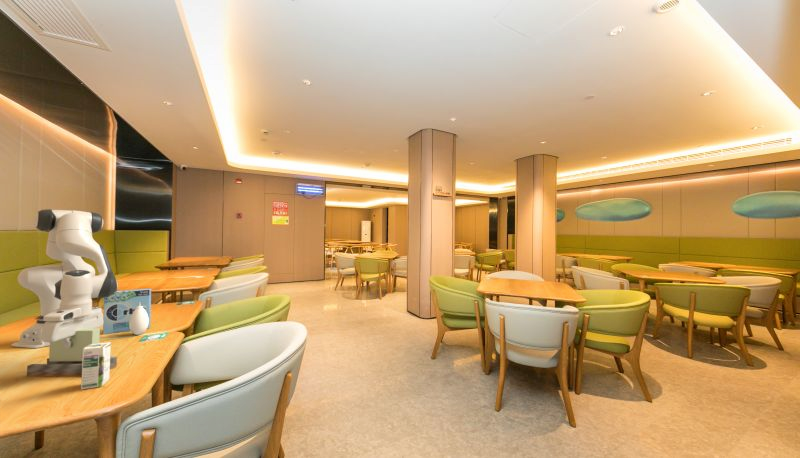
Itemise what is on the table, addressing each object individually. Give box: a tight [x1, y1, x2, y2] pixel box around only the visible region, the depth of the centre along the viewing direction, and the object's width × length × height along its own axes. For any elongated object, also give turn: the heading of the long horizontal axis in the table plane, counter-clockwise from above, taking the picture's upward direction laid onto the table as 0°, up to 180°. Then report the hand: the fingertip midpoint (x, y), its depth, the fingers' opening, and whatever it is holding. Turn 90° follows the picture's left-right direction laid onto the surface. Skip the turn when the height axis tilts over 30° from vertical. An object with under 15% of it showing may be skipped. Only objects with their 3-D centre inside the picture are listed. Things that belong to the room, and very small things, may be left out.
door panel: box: [48, 327, 101, 361], centre depth 116 cm, size 16×3×12 cm, turn 93°
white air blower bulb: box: [129, 303, 149, 336], centre depth 159 cm, size 8×8×18 cm
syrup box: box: [80, 341, 112, 391], centre depth 106 cm, size 6×6×14 cm
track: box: [26, 356, 118, 377], centre depth 116 cm, size 26×8×4 cm, turn 93°
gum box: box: [102, 288, 152, 335], centre depth 165 cm, size 20×5×23 cm, turn 123°
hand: (74, 345), depth 116 cm, fingers closed on door panel, 3 cm apart
